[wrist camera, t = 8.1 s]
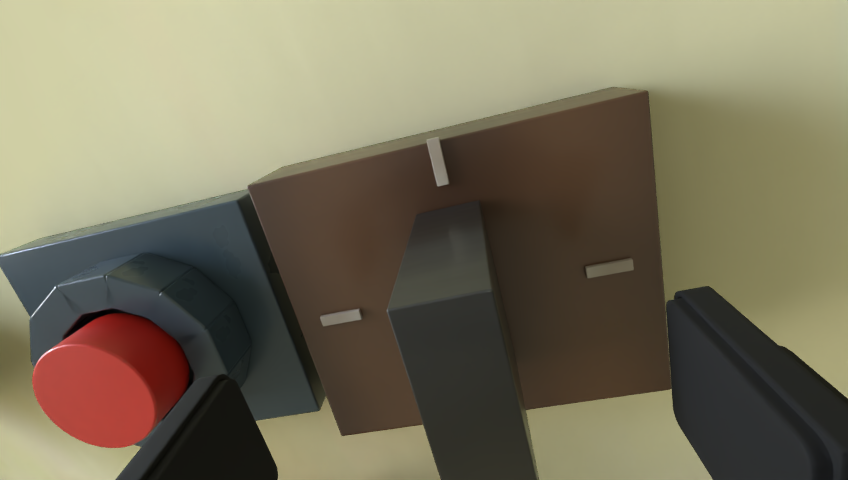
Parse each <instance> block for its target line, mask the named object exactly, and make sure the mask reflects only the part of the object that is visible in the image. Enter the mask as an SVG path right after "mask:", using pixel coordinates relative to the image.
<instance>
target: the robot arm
mask: <svg viewBox="0 0 848 480" xmlns="http://www.w3.org/2000/svg"><path fill="white" fill-rule="evenodd" d="M666 312H667V327H668V341H669V356H670V370H671V385H672V399H673V410H674V414H675V417H676V420H677V422H678V424H679V426H680V428H681V429H682V431H683V433H684V434H685V436H686V437H687V439H688V441H689V442H690V444H691V445H692V447H693V448H694V450H695V452H696V453H697V455H698V456H699V458H700V460H701V461H702V463H703V464H704V466H705V468H706V469H707V471H708V472H709V474H710V475H711V477H712V479H713V480H848V399H847V398H846V397H845V396H844V395H843V394H841V393H840V392H839V391H838V390H837V389H835V388H834V387H833V386H832V385H831V384H830V383H828V382H827V381H826V380H825V379H824V378H822V377H821V376H820V375H819V374H818V373H817V372H815V371H814V370H813V369H812V368H811V367H809V366H808V365H807V364H806V363H805V362H804V361H802V360H801V359H800V358H799V357H798V356H796V355H795V354H794V353H793V352H792V351H790V350H788V349H787V348H785V347H783V346H779V345H777V344H776V343H775V342H774V341H773V340H771V339H770V338H769V337H768V336H767V335H766V334H765V333H763V332H762V331H761V330H760V329H759V328H758V327H756V326H755V325H754V324H753V323H752V322H751V321H749V320H748V319H747V318H746V317H745V316H744V315H742V314H741V313H740V312H739V311H738V310H737V309H735V308H734V307H733V306H732V305H731V304H730V303H729V302H727V301H726V300H725V299H724V298H723V297H722V296H720V295H719V294H718V293H717V292H716V291H715V290H713V289H712V288H711V287H709V286H705V287H699V288H694V289H688V290H683V291H677V292H676V293H675V296H674V300H669V301H668V302H667V304H666ZM277 479H278V471H277V466H276V464H275V462H274V460H273V458H272V455H271V453H270V451H269V449H268V447H267V445H266V443H265V441H264V438H263V436H262V434H261V432H260V430H259V428H258V426H257V424H256V421H255V419H254V417H253V415H252V413H251V411H250V409H249V407H248V404H247V402H246V400H245V398H244V396H243V394H242V392H241V390H240V387H239V385H238V383H237V382H236V381H235V380H234V379H230V378H229V377H228V376H227V375H225V374H219V375H214V376H208V377H203V378H199V379H197V380H196V381H195V382H194V383H193V384H192V385H191V386H190V388H189V389H188V390H187V391H186V393H185V394H184V395H183V396H182V398H181V399H180V400H179V401H178V403H177V404H176V405H175V406H174V408H173V409H172V410H171V411H170V413H169V414H168V415H167V416H166V418H165V419H164V420H163V421H162V423H161V424H160V425H159V426H158V427H157V429H156V430H155V431H154V432H153V434H152V435H151V436H150V437H149V439H148V440H147V441H146V442H145V444H144V445H143V446H142V447H141V449H140V450H139V451H138V452H137V454H136V455H135V456H134V457H133V459H132V460H131V461H130V462H129V464H128V465H127V466H126V467H125V469H124V470H123V471H122V472H121V473H120V475H119V476H118V477H117V478H116V480H277Z"/></svg>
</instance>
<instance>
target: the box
mask: <svg viewBox="0 0 848 480" xmlns="http://www.w3.org/2000/svg"><path fill="white" fill-rule="evenodd" d="M0 267H1V269H2V271H3V272H4V274H5V276H6V277H7V279H8V281H9V282H10V284H11V286H12V287H13V289H14V291H15V292H16V294H17V296H18V297H19V299H20V301H21V302H22V304H23V306H24V307H25V309H26V311H27V312H28V314H29V316H30V320H29V321H30V350H31V362H32V365H33V366H34V368H35V366H36V363H37V362H38V360H39V359H40V357H41V356H42V355H43V354H44V353H45V352H47V351H48V350H50V349H51V348H53V347H54V346H56V345H57V344H59V343H60V342H61V341H63V340H64V339H66V338H67V337H69V336H70V335H72V334H73V333H75V332H76V331H78V330H79V329H81V328H82V327H84V326H85V325H87V324H88V323H89V322H91V321H92V320H94V319H96V318H98V317H100V316H103V315H107V314H113V313H127V314H133V315H137V316H140V317H143V318H146V319H148V320H150V321H152V322H154V323H155V324H157V325H158V326H159V327H160V328H162V329H163V330H164V331H165V332H166V333H168V334H169V335H170V336H171V337H173V338H174V339H175V340H176V341H177V342H178V344H179V345H180V346H181V348H182V350H183V352H184V354H185V356H186V358H187V361H188V364H189V371H190V375H189V382H188V386H187V389H186V391H187V390H188V389H189V388H190V386H191V385H192V384H193V383H194V382H195V381H196V380H197V379H199V378H203V377H208V376H214V375H219V374H225V375H227V376H228V377H229V378H230V379H234V380H235V381H236V382H237V383H238V385H239V387H240V390H241V392H242V394H243V396H244V398H245V400H246V402H247V404H248V407H249V409H250V411H251V413H252V415H253V417H254V419H255V421H257V420H263V419H270V418H276V417H283V416H289V415H296V414H303V413H309V412H316V411H319V410H320V409H321V406H322V404H323V402H324V399H325V397H326V393H325V391H324V388H323V385H322V383H321V380H320V378H319V375H318V372H317V370H316V367H315V364H314V362H313V359H312V357H311V354H310V351H309V349H308V346H307V343H306V341H305V338H304V336H303V333H302V330H301V328H300V325H299V322H298V320H297V317H296V315H295V312H294V309H293V307H292V304H291V301H290V299H289V296H288V294H287V291H286V288H285V286H284V283H283V280H282V278H281V275H280V272H279V270H278V267H277V265H276V262H275V259H274V257H273V254H272V251H271V249H270V246H269V244H268V241H267V238H266V236H265V233H264V230H263V228H262V225H261V223H260V220H259V217H258V215H257V212H256V209H255V207H254V204H253V202H252V199H251V196H250V194H249V191H248V189H247V190H243V191H238V192H234V193H230V194H226V195H221V196H217V197H213V198H209V199H205V200H200V201H196V202H192V203H188V204H183V205H179V206H175V207H171V208H167V209H162V210H158V211H154V212H150V213H145V214H141V215H137V216H133V217H129V218H124V219H120V220H116V221H112V222H107V223H103V224H99V225H95V226H91V227H86V228H82V229H78V230H74V231H69V232H65V233H61V234H57V235H53V236H48V237H44V238H40V239H37V240H35V241H32V242H30V243H27V244H25V245H22V246H20V247H17V248H15V249H12V250H10V251H7V252H5V253H2V254H0ZM186 391H185V392H184V394H185V393H186ZM184 394H183V395H184ZM183 395H182V396H183ZM182 396H181V398H182ZM181 398H180V399H181ZM180 399H179V400H180ZM179 400H178V401H179ZM178 401H177V402H176V403H175V405H176V404H177V403H178ZM175 405H174V406H175ZM174 406H173V407H172V408H171V409H170V410H169V412H168V413H167V414H166V415H165V416H164V417H163V419H162V420H161V421H160V422H159V423H158V424H157V426H156V427H155V428H154V429H153V430H152V431H151V433H150V434H149V435H148V436H147V437H146V438H144V439H143V440H141V441H140V442H138V443H136V444H133V445H137V446H140V447H142V446H143V445H144V444H145V442H146V441H147V440H148V439H149V437H150V436H151V435H152V434H153V432H154V431H155V430H156V429H157V427H158V426H159V425H160V424H161V423H162V421H163V420H164V419H165V418H166V416H167V415H168V414H169V413H170V411H171V410H172V409H173V408H174Z"/></svg>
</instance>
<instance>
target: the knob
mask: <svg viewBox="0 0 848 480" xmlns="http://www.w3.org/2000/svg"><path fill="white" fill-rule="evenodd" d="M387 313H388V317H389V320H390V323H391V326H392V329H393V332H394V335H395V338H396V341H397V345H398V348H399V351H400V354H401V357H402V360H403V363H404V366H405V369H406V373H407V376H408V379H409V382H410V385H411V388H412V391H413V394H414V397H415V401H416V404H417V407H418V410H419V413H420V416H421V419H422V422H423V425H424V429H425V432H426V435H427V438H428V441H429V444H430V447H431V450H432V453H433V457H434V460H435V463H436V466H437V469H438V472H439V475H440V478H441V480H539V477H538V471H537V466H536V461H535V456H534V450H533V445H532V440H531V435H530V430H529V424H528V419H527V414H526V409H525V404H524V398H523V393H522V388H521V383H520V378H519V372H518V367H517V362H516V358H515V353H514V349H513V345H512V340H511V336H510V331H509V327H508V322H507V318H506V314H505V309H504V305H503V300H502V296H501V291H500V287H499V283H498V278H497V274H496V269H495V265H494V260H493V256H492V251H491V247H490V243H489V238H488V234H487V229H486V225H485V220H484V216H483V212H482V207H481V203H480V201H479V200H477V201H473V202H469V203H464V204H460V205H456V206H451V207H447V208H442V209H438V210H434V211H429V212H425V213H421V214H417V215H416V217H415V220H414V223H413V227H412V230H411V233H410V236H409V240H408V243H407V246H406V249H405V253H404V256H403V259H402V262H401V266H400V269H399V272H398V275H397V279H396V282H395V285H394V288H393V291H392V295H391V298H390V301H389V304H388V308H387Z"/></svg>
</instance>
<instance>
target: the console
mask: <svg viewBox="0 0 848 480" xmlns="http://www.w3.org/2000/svg"><path fill="white" fill-rule="evenodd" d="M247 188H248V191H249V194H250V196H251V199H252V202H253V204H254V207H255V209H256V212H257V215H258V217H259V220H260V223H261V225H262V228H263V230H264V233H265V236H266V238H267V241H268V244H269V246H270V249H271V251H272V254H273V257H274V259H275V262H276V265H277V267H278V270H279V272H280V275H281V278H282V280H283V283H284V286H285V288H286V291H287V294H288V296H289V299H290V301H291V304H292V307H293V309H294V312H295V315H296V317H297V320H298V322H299V325H300V328H301V330H302V333H303V336H304V338H305V341H306V343H307V346H308V349H309V351H310V354H311V357H312V359H313V362H314V364H315V367H316V370H317V372H318V375H319V378H320V380H321V383H322V385H323V388H324V391H325V393H326V396H327V399H328V401H329V404H330V407H331V409H332V412H333V414H334V417H335V420H336V422H337V425H338V428H339V430H340V433H341V435H342V436H345V435H352V434H359V433H366V432H373V431H380V430H388V429H395V428H402V427H409V426H416V425H423V422H422V419H421V416H420V413H419V410H418V407H417V404H416V401H415V397H414V394H413V391H412V388H411V385H410V382H409V379H408V376H407V373H406V369H405V366H404V363H403V360H402V357H401V354H400V351H399V348H398V345H397V341H396V338H395V335H394V332H393V329H392V326H391V323H390V320H389V317H388V313H387V308H388V304H389V301H390V298H391V295H392V291H393V288H394V285H395V282H396V279H397V275H398V272H399V269H400V266H401V262H402V259H403V256H404V253H405V249H406V246H407V243H408V240H409V236H410V233H411V230H412V227H413V223H414V220H415V217H416V215H417V214H421V213H425V212H429V211H434V210H438V209H442V208H447V207H451V206H456V205H460V204H464V203H469V202H473V201H477V200H479V201H480V203H481V207H482V212H483V216H484V220H485V225H486V229H487V234H488V238H489V243H490V247H491V251H492V256H493V260H494V265H495V269H496V274H497V278H498V283H499V287H500V291H501V296H502V300H503V305H504V309H505V314H506V318H507V322H508V327H509V331H510V336H511V340H512V345H513V349H514V353H515V358H516V362H517V367H518V372H519V378H520V383H521V388H522V393H523V398H524V404H525V409H526V410H529V409H536V408H543V407H550V406H557V405H564V404H571V403H578V402H585V401H592V400H599V399H606V398H613V397H620V396H627V395H634V394H641V393H648V392H655V391H663V390H670V389H671V388H672V387H671V374H670V361H669V348H668V336H667V323H666V310H665V298H664V285H663V272H662V259H661V247H660V234H659V221H658V209H657V196H656V183H655V170H654V158H653V145H652V132H651V119H650V107H649V94H648V91H645V90H636V89H627V88H617V87H611V88H607V89H602V90H598V91H594V92H590V93H586V94H582V95H578V96H574V97H569V98H565V99H561V100H557V101H553V102H549V103H545V104H541V105H536V106H532V107H528V108H524V109H520V110H516V111H512V112H507V113H503V114H499V115H495V116H491V117H487V118H483V119H479V120H474V121H470V122H466V123H462V124H458V125H454V126H450V127H445V128H441V129H437V130H433V131H429V132H425V133H421V134H417V135H412V136H408V137H404V138H400V139H396V140H392V141H388V142H384V143H379V144H375V145H371V146H367V147H363V148H359V149H355V150H350V151H346V152H342V153H338V154H334V155H330V156H326V157H322V158H317V159H313V160H309V161H305V162H301V163H297V164H293V165H288V166H284V167H281V168H279V169H278V170H276V171H274V172H272V173H270V174H268V175H266V176H265V177H263V178H261V179H259V180H257V181H255V182H253V183H252V184H250V185H248V186H247Z"/></svg>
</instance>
